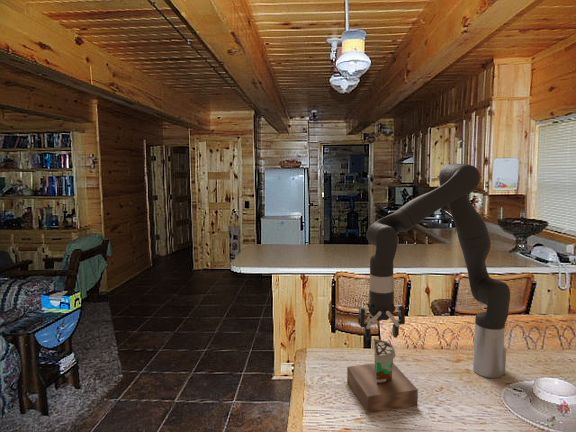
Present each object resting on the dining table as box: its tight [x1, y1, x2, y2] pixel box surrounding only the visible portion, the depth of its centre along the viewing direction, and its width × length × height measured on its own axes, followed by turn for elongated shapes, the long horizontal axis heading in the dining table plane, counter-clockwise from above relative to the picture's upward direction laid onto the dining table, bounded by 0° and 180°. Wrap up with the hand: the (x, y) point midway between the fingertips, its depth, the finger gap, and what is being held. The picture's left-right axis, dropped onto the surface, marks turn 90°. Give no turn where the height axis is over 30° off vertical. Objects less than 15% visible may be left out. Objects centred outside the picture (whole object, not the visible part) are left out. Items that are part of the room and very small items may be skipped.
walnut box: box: [346, 362, 419, 414], centre depth 133 cm, size 16×18×6 cm
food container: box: [373, 338, 396, 384], centre depth 132 cm, size 12×6×10 cm, turn 172°
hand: (381, 337), depth 131 cm, fingers open, 8 cm apart
